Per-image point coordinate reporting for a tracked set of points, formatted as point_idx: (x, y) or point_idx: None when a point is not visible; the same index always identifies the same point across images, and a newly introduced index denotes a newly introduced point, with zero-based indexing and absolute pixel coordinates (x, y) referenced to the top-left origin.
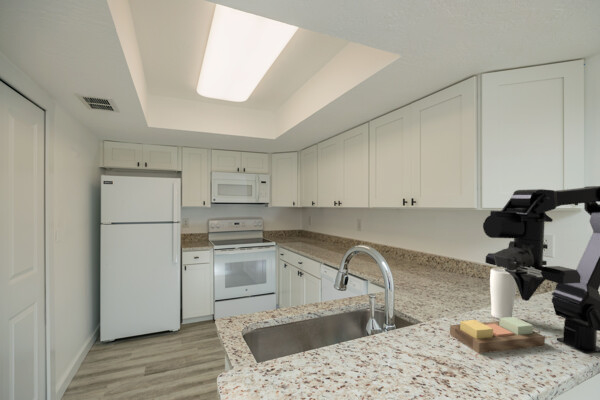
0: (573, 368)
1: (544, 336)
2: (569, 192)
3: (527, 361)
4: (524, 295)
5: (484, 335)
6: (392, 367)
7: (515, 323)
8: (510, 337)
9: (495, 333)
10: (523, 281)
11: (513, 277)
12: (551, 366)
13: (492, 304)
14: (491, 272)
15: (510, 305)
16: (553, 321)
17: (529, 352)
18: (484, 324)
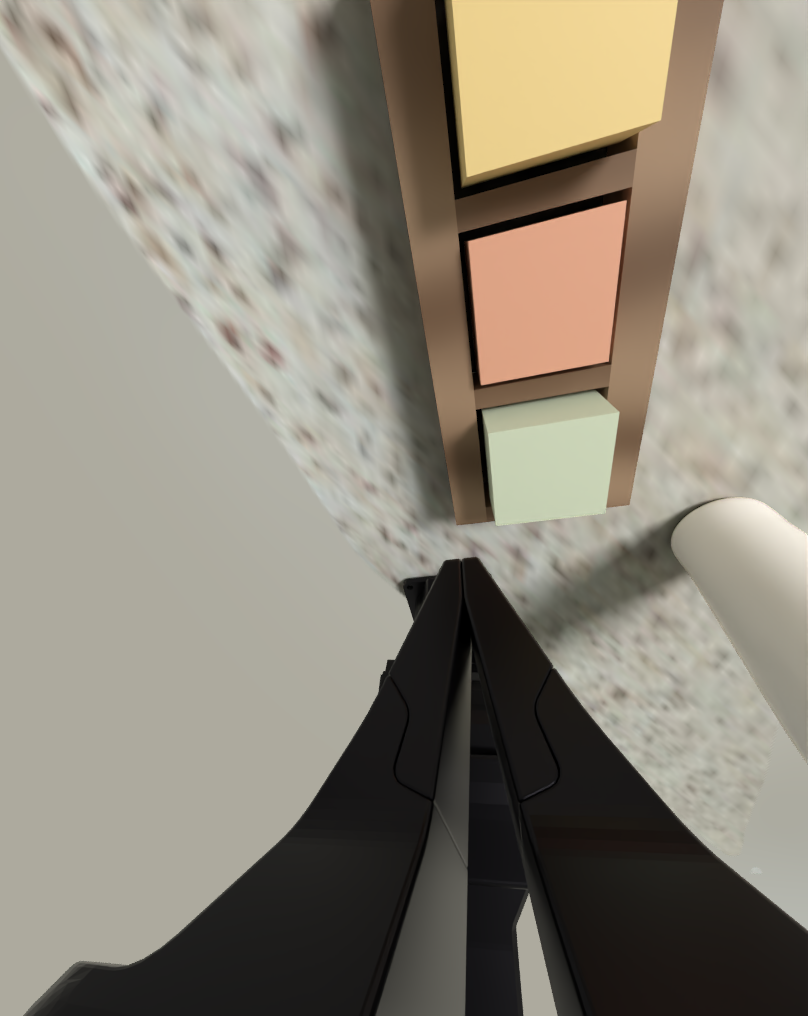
0: (308, 467)
1: (456, 523)
2: None
3: (324, 307)
4: (447, 592)
5: (453, 62)
6: None
7: (527, 452)
8: (450, 335)
9: (486, 238)
10: (510, 792)
11: (679, 824)
12: (304, 394)
13: (802, 537)
14: None
15: (714, 594)
16: (606, 662)
17: (405, 391)
18: (553, 147)
